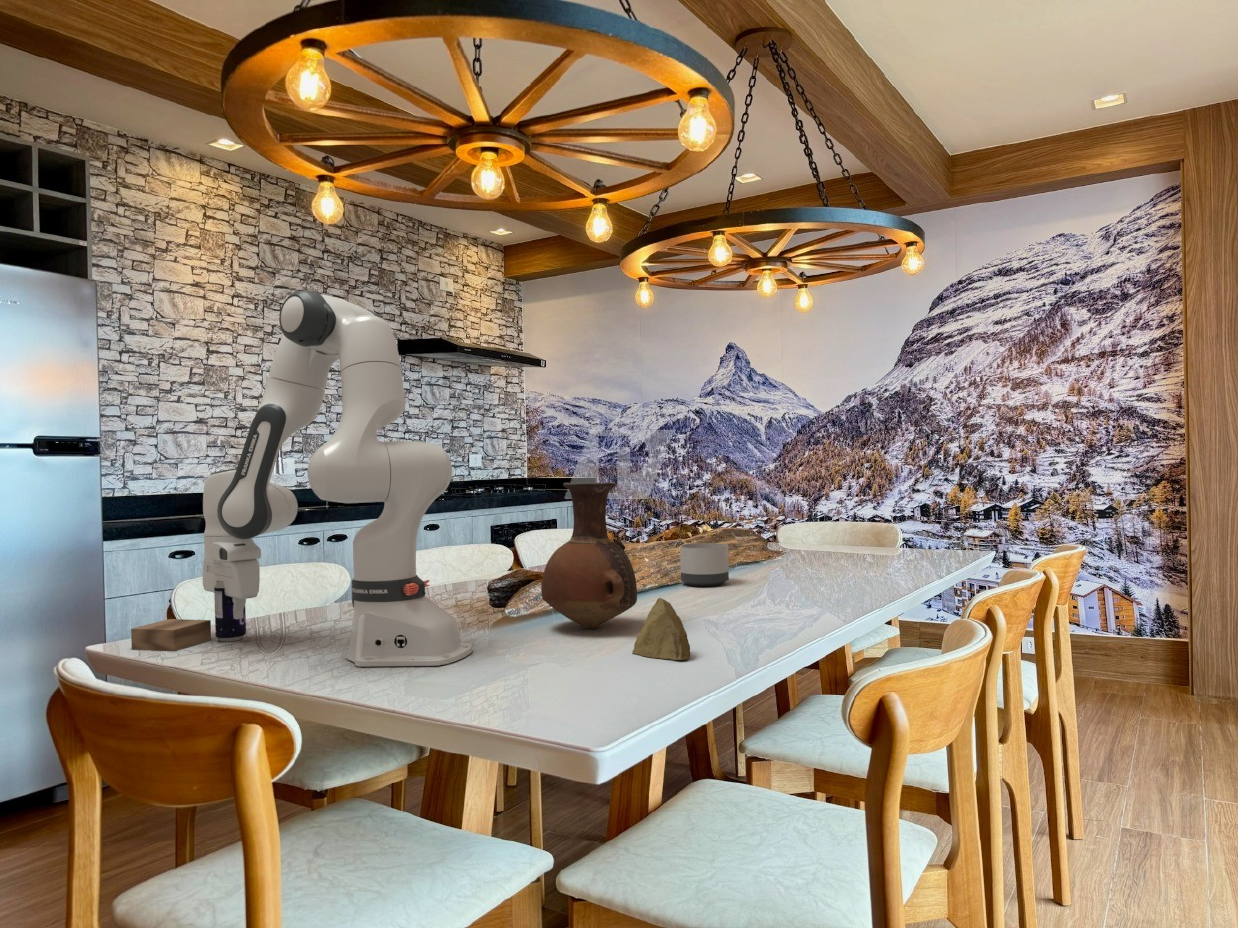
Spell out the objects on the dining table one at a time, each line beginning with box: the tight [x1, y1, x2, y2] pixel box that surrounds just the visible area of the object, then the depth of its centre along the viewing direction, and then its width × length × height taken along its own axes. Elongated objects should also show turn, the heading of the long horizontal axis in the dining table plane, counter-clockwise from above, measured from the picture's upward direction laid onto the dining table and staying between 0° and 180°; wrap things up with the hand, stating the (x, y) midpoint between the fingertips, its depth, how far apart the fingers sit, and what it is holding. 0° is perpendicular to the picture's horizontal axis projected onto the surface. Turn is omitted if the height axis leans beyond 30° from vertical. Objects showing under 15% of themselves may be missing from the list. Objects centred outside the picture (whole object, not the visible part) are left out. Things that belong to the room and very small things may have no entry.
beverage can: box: [213, 581, 247, 643], centre depth 177 cm, size 6×6×12 cm
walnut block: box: [130, 618, 212, 652], centre depth 174 cm, size 10×10×4 cm
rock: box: [631, 597, 691, 661], centre depth 152 cm, size 11×9×10 cm
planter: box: [679, 542, 730, 588], centre depth 234 cm, size 13×13×10 cm
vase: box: [540, 482, 638, 630], centre depth 180 cm, size 25×20×30 cm
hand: (230, 616), depth 177 cm, fingers closed on beverage can, 6 cm apart
